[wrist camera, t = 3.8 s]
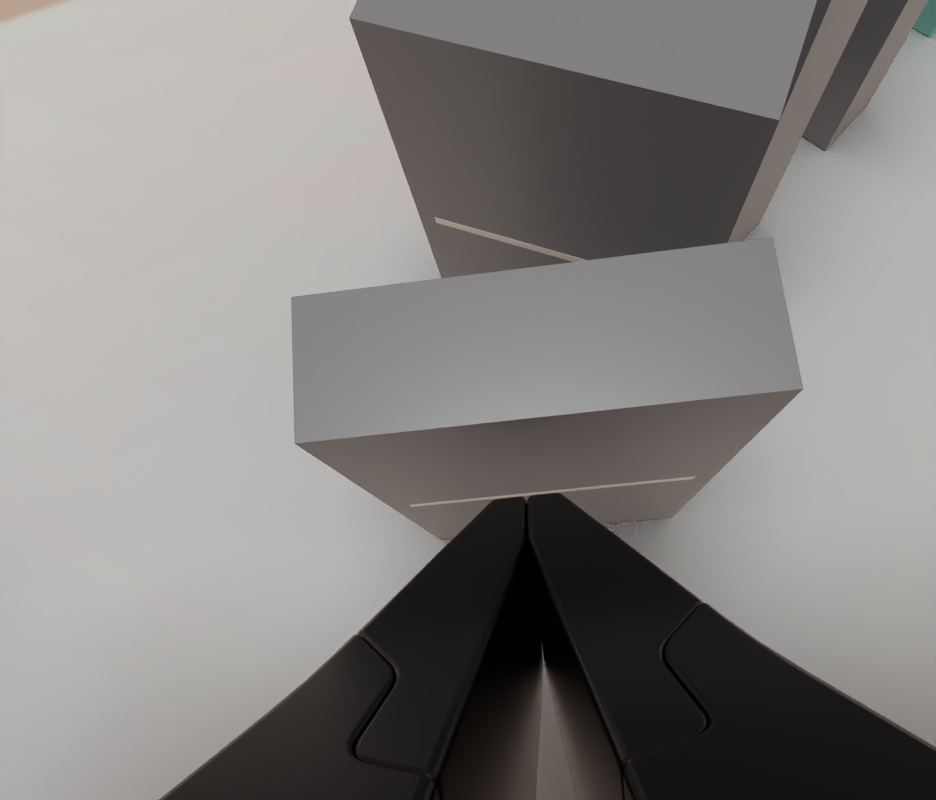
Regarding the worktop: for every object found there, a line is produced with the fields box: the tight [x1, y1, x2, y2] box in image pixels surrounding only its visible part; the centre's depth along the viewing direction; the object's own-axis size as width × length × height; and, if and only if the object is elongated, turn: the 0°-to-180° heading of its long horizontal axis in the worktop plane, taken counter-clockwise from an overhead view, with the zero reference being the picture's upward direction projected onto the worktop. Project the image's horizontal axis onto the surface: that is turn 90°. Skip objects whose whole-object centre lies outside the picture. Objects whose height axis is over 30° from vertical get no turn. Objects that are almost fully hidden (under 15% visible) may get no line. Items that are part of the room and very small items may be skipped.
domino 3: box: [727, 0, 868, 243], centre depth 15 cm, size 2×5×10 cm, turn 47°
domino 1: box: [349, 0, 817, 278], centre depth 14 cm, size 2×5×10 cm, turn 70°
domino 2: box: [291, 237, 803, 540], centre depth 13 cm, size 2×5×10 cm, turn 95°
